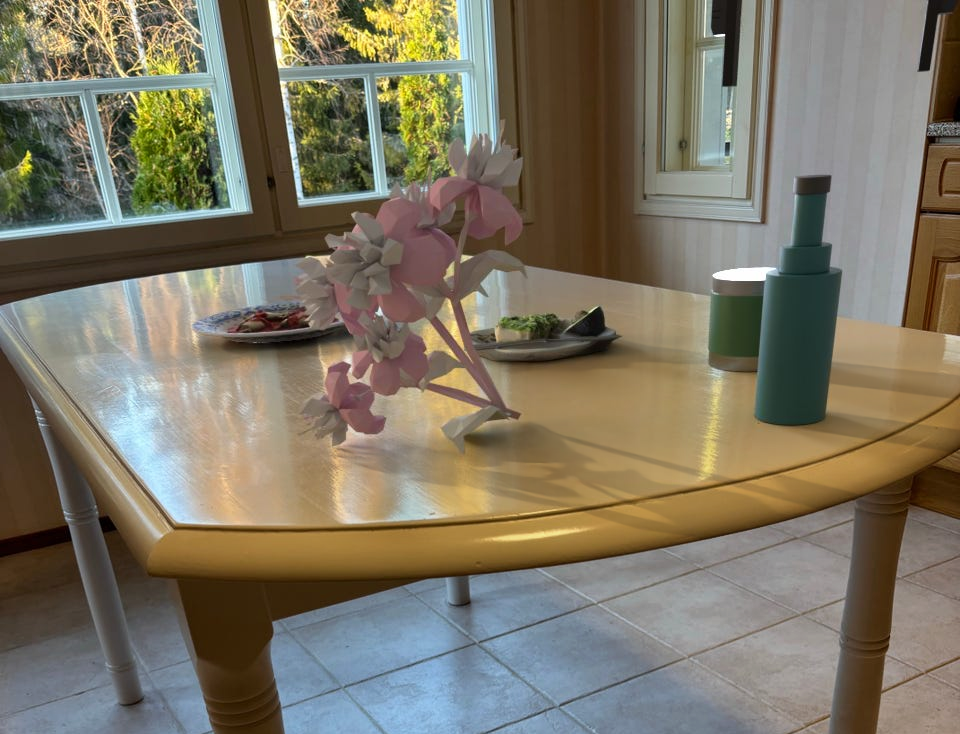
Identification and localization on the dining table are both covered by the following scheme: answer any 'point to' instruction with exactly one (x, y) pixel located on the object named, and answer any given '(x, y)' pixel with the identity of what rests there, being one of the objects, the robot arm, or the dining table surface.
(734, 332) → the tin
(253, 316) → the ceramic plate
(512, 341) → the salad plate
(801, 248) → the bottle
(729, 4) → the robot arm
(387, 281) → the flower
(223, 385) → the dining table surface
